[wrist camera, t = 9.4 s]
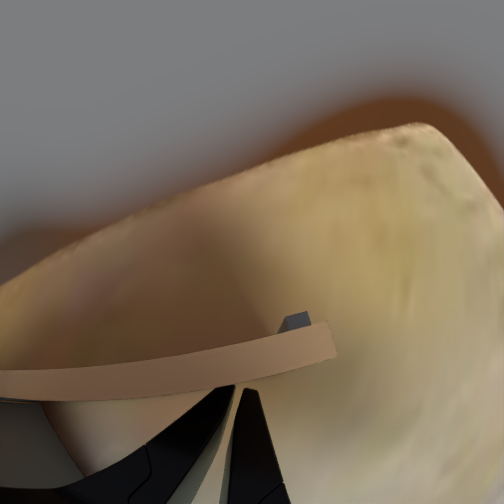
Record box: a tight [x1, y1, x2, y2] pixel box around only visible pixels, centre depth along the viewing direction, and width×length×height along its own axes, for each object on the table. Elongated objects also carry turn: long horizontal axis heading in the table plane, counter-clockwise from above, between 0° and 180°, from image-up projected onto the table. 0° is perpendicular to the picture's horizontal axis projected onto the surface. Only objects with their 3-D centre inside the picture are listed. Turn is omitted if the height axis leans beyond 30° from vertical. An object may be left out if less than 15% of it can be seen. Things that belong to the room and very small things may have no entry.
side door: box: [0, 311, 338, 403], centre depth 9 cm, size 17×2×9 cm, turn 103°
